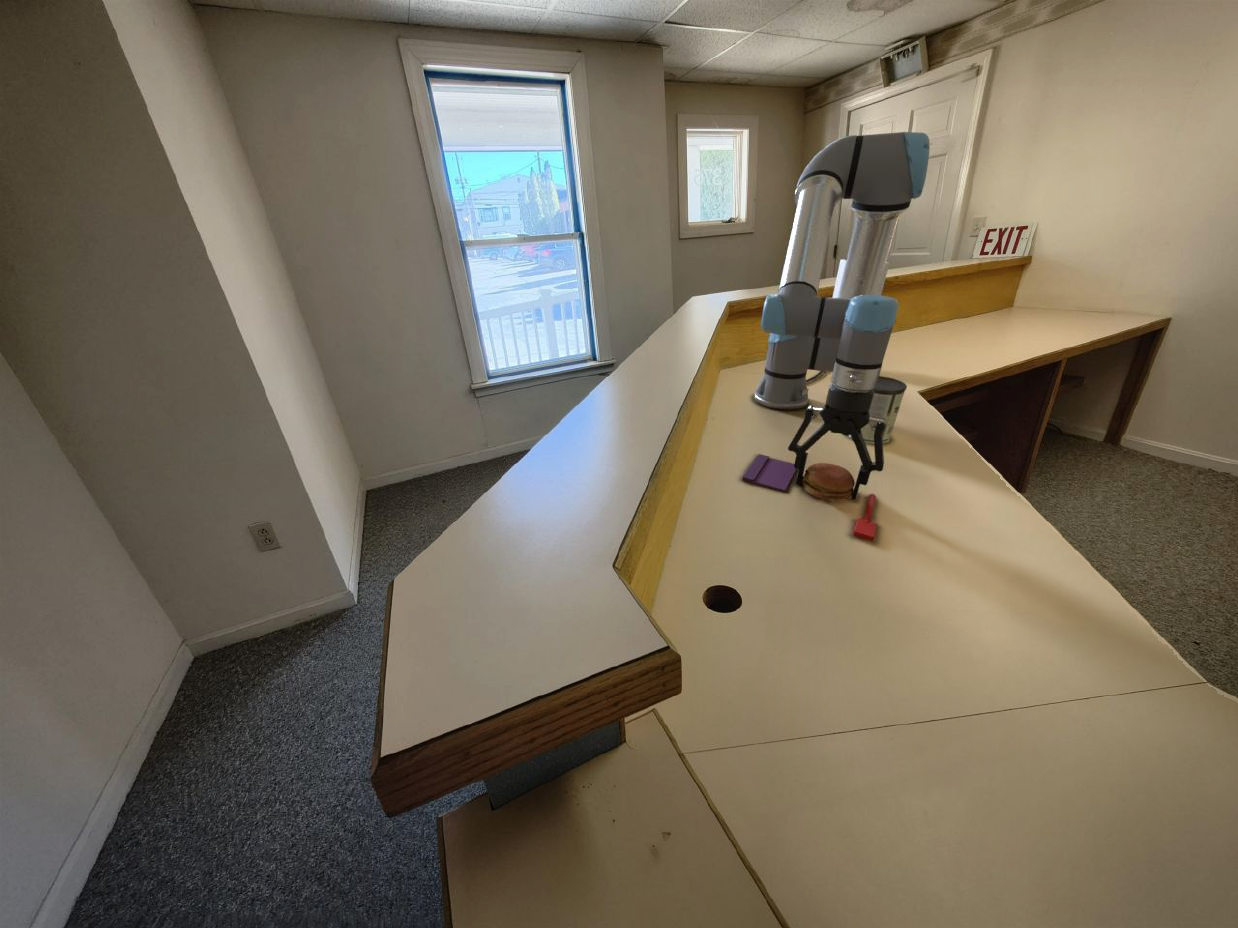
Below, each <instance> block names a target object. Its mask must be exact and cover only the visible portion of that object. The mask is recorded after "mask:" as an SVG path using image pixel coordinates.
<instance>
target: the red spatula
mask: <svg viewBox="0 0 1238 928" xmlns="http://www.w3.org/2000/svg"><path fill="white" fill-rule="evenodd" d="M876 498H877V496H876V494H874V493H869V495H868V498H867V502H866V508H865V511H864V515H863V516H864V517H863V518H861V517H857V520H856V523H855V527H854V531H853V534H852V536H853V537H857V538H859V539H862V540H866V541H868V542H869V541H870V542H874V540H875V536H876V532H877V525H878V522H875V521H872V519H873V518H872V517H873V513H874V509H875V502H876Z"/></svg>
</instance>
